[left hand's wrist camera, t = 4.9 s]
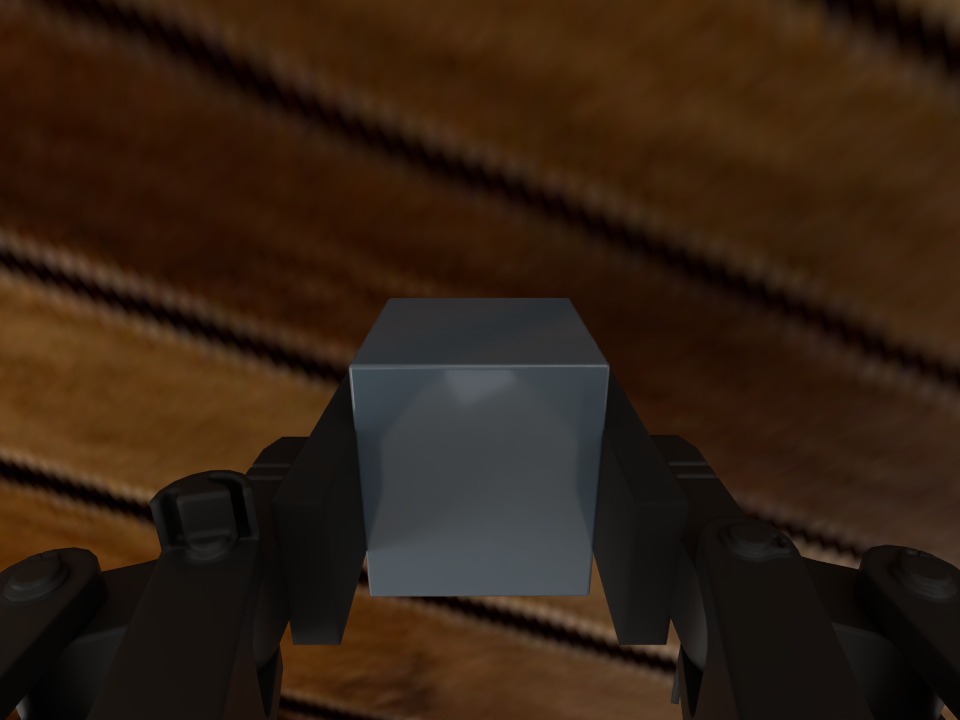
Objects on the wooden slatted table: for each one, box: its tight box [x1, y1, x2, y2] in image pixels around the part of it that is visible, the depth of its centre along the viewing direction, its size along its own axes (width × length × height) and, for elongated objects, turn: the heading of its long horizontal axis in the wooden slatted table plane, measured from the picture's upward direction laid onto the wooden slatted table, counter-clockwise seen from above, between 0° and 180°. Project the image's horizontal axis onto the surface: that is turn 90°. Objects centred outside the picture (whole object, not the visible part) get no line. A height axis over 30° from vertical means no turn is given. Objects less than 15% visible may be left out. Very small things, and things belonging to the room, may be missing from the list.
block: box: [349, 298, 610, 596], centre depth 12 cm, size 4×5×5 cm
